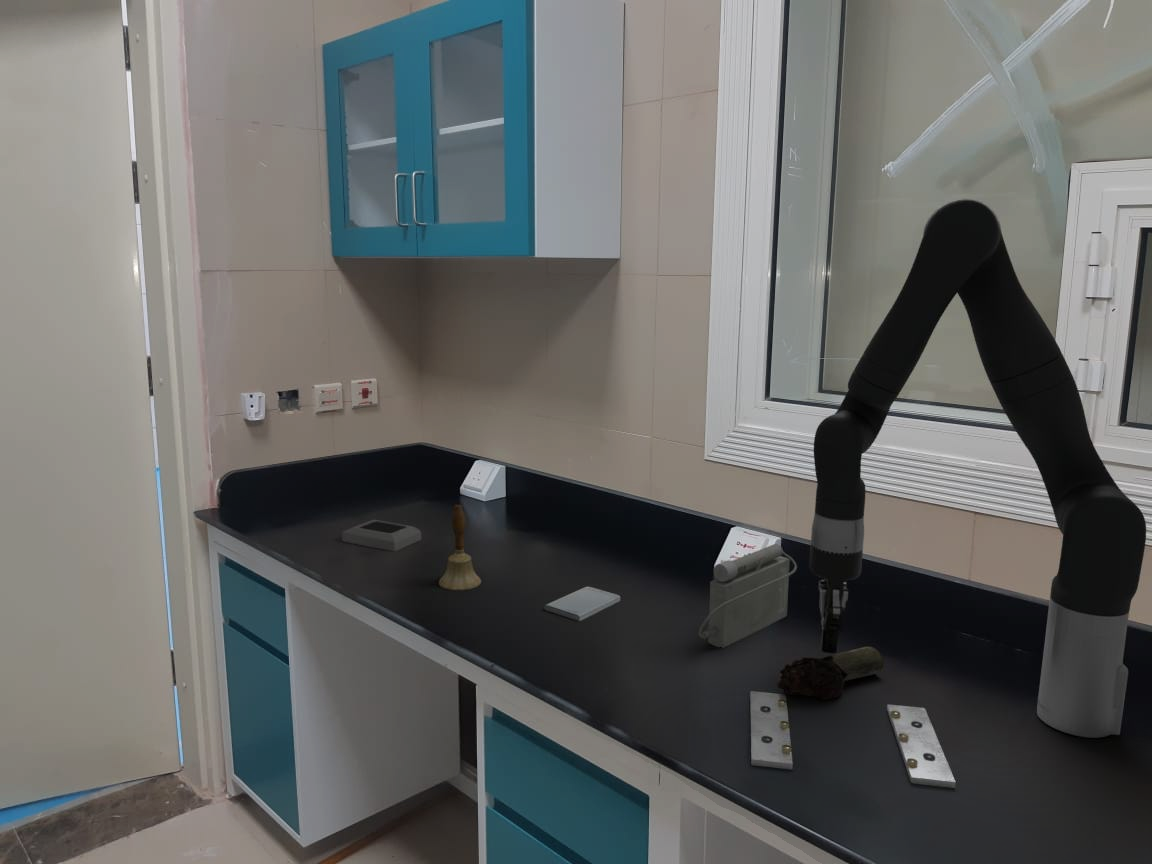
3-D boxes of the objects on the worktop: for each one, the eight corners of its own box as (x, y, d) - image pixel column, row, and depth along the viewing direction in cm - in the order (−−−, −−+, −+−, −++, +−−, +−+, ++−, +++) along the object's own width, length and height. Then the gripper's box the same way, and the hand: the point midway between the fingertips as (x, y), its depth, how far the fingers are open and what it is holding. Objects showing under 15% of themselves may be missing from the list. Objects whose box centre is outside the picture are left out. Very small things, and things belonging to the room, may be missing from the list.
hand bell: (480, 590, 165) (479, 510, 162) (437, 591, 164) (435, 511, 161) (481, 575, 173) (480, 499, 170) (440, 576, 172) (438, 499, 169)
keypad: (369, 516, 201) (420, 525, 195) (370, 531, 202) (421, 541, 195) (341, 527, 193) (394, 537, 186) (342, 542, 194) (394, 553, 187)
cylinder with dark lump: (858, 667, 134) (861, 633, 133) (892, 685, 129) (895, 650, 128) (771, 691, 126) (774, 656, 125) (803, 712, 120) (806, 675, 119)
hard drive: (579, 615, 150) (620, 594, 160) (544, 604, 155) (586, 584, 165) (579, 624, 150) (620, 603, 160) (544, 612, 155) (586, 592, 165)
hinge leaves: (924, 713, 120) (925, 705, 119) (955, 788, 102) (955, 779, 102) (750, 696, 124) (750, 688, 124) (751, 765, 107) (751, 756, 106)
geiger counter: (771, 536, 154) (685, 569, 137) (802, 544, 149) (717, 579, 132) (768, 609, 156) (683, 650, 139) (799, 619, 152) (714, 663, 135)
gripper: (868, 559, 121) (859, 672, 124) (857, 531, 133) (849, 635, 137) (814, 555, 122) (806, 667, 125) (808, 528, 135) (801, 630, 138)
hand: (828, 650), depth 131 cm, fingers closed
